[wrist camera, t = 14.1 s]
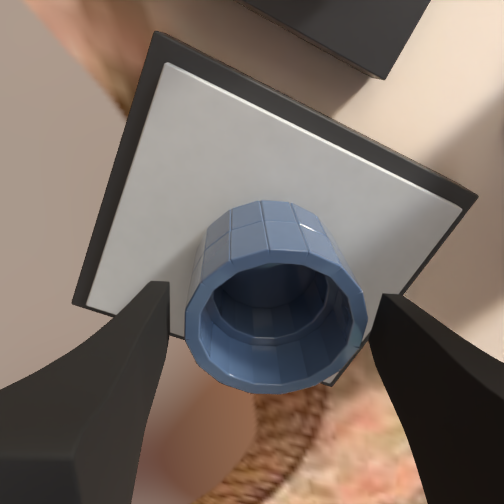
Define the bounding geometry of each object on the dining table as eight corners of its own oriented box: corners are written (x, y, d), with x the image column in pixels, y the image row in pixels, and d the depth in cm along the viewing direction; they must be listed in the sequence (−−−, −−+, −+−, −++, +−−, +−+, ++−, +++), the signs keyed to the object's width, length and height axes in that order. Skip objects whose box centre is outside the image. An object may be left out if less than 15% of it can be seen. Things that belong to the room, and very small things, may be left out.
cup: (346, 201, 15) (388, 256, 11) (320, 318, 18) (345, 397, 14) (198, 189, 14) (185, 242, 10) (194, 312, 17) (183, 391, 13)
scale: (457, 182, 17) (488, 201, 15) (325, 363, 22) (334, 396, 20) (162, 31, 14) (150, 28, 12) (84, 283, 19) (65, 312, 17)
